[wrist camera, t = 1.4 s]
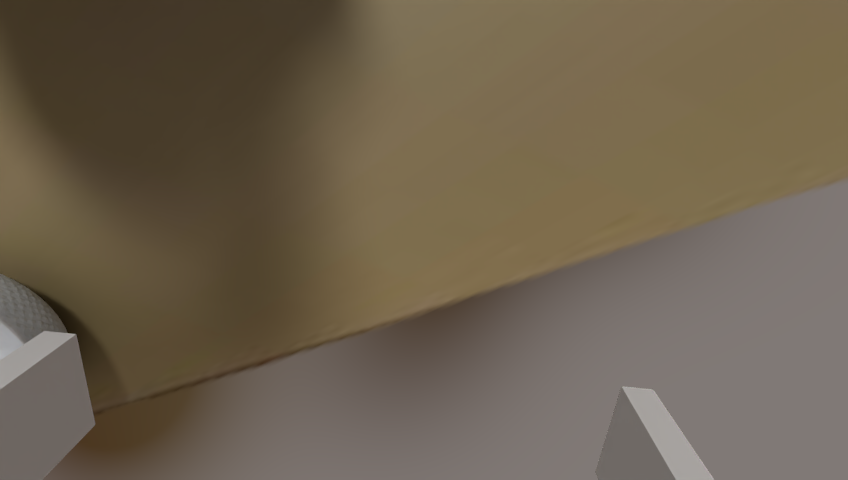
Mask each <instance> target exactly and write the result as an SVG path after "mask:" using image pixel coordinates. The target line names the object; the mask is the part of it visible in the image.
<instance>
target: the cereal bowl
mask: <svg viewBox="0 0 848 480" xmlns="http://www.w3.org/2000/svg"><path fill="white" fill-rule="evenodd" d="M43 331H50V332H60V333H67V330H66V328H65V326H64V325H63V323H62V321H61V320H60V318H59V317H58V315H57V314H56V313H55V312H54V311H53V309H52V308H51V307H50V306H49V305H48V304H47V303H46V302H45V301H44V300H43V299H42V298H40V297H39V296H38V295H37V294H35V293H34V292H32V291H31V290H30V289H28V288H27V287H25V286H23V285H22V284H20V283H18V282H17V281H15V280H13V279H11V278H8V277H6V276H5V275H2V274H0V360H1V359H3V358H4V357H6V356H7V355H9V354H10V353H12V352H13V351H15V350H16V349H18V348H19V347H21V346H22V345H24V344H25V343H27V342H28V341H30V340H31V339H33V338H34V337H36V336H37V335H39V334H40V333H42V332H43Z"/></svg>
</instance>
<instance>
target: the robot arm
mask: <svg viewBox="0 0 848 480" xmlns="http://www.w3.org/2000/svg"><path fill="white" fill-rule="evenodd" d="M94 426H95V420H94V415H93V410H92V406H91V401H90V396H89V392H88V387H87V382H86V377H85V373H84V368H83V363H82V359H81V354H80V349H79V344H78V340H77V335H76V334H71V333H60V332H50V331H43V332H42V333H40V334H39V335H37V336H36V337H34V338H33V339H31V340H30V341H28V342H27V343H25V344H24V345H22V346H21V347H19V348H18V349H16V350H15V351H13V352H12V353H10V354H9V355H7V356H6V357H4V358H3V359H1V360H0V480H42V479H43V478H44V477H45V476H46V475H47V474H48V473H49V472H50V471H51V470H52V469H53V468H54V467H55V466H56V465H57V464H58V463H59V462H60V461H61V460H62V459H63V458H64V457H65V456H66V455H67V454H68V452H69V451H70V450H71V449H72V448H73V447H74V446H75V445H76V444H77V443H78V442H79V441H80V440H81V439H82V438H83V437H84V436H85V435H86V434H87V433H88V432H89V431H90V430H91V429H92V428H93V427H94ZM595 472H596V475H597V477H598V480H714V479H713V477H712V476H711V474H710V473H709V472H708V470H707V469H706V467H705V466H704V464H703V463H702V461H701V460H700V458H699V457H698V455H697V454H696V452H695V451H694V449H693V448H692V446H691V445H690V443H689V442H688V440H687V439H686V437H685V436H684V434H683V433H682V432H681V430H680V429H679V427H678V426H677V424H676V423H675V421H674V420H673V418H672V417H671V415H670V414H669V412H668V411H667V409H666V408H665V406H664V405H663V404H662V402H661V400H660V399H659V398H658V396H657V395H656V393H655V392H654V390H653V389H643V388H632V387H623V386H622V387H621V390H620V393H619V396H618V399H617V403H616V406H615V409H614V412H613V416H612V419H611V423H610V426H609V429H608V432H607V435H606V439H605V442H604V445H603V448H602V452H601V455H600V458H599V462H598V465H597V468H596V471H595Z"/></svg>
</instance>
